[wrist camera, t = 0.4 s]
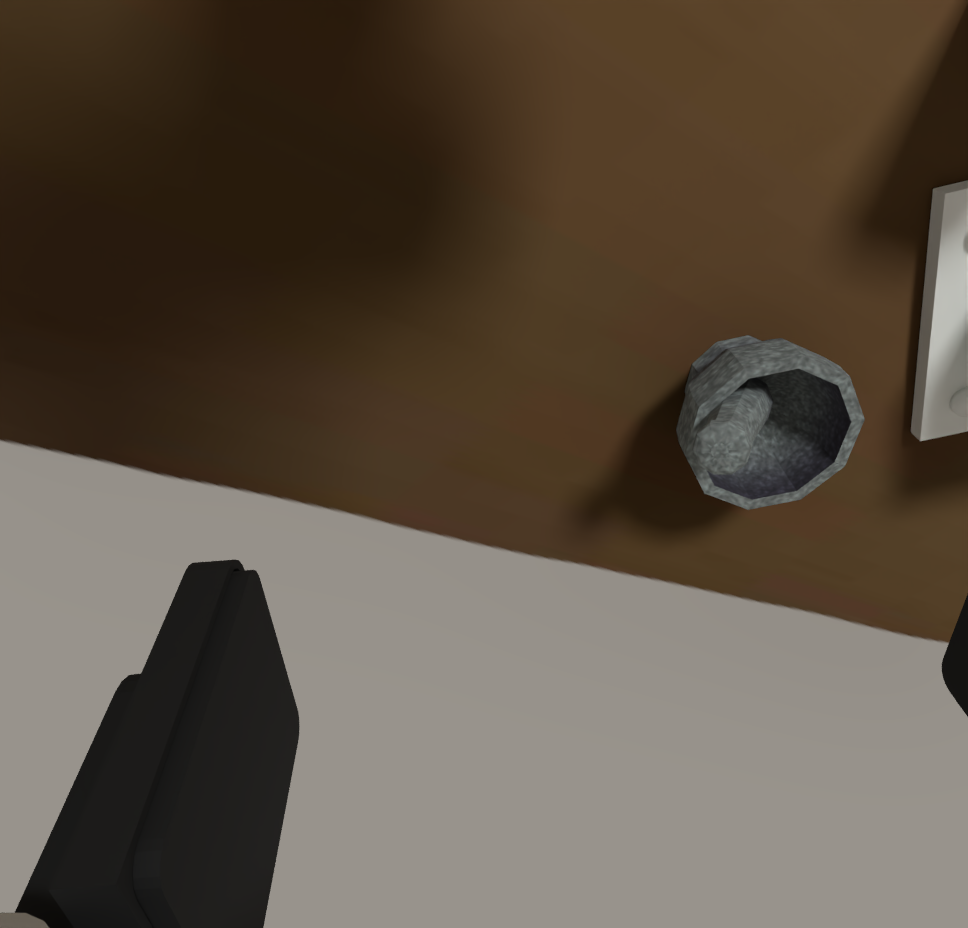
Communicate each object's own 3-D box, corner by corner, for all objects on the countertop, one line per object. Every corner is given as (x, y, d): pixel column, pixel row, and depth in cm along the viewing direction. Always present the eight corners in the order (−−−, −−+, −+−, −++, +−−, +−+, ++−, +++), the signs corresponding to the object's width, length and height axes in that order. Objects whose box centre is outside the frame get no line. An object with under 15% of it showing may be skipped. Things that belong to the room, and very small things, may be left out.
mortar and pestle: (843, 346, 47) (953, 448, 37) (755, 464, 51) (831, 584, 41) (689, 276, 44) (762, 366, 34) (610, 408, 48) (653, 522, 38)
